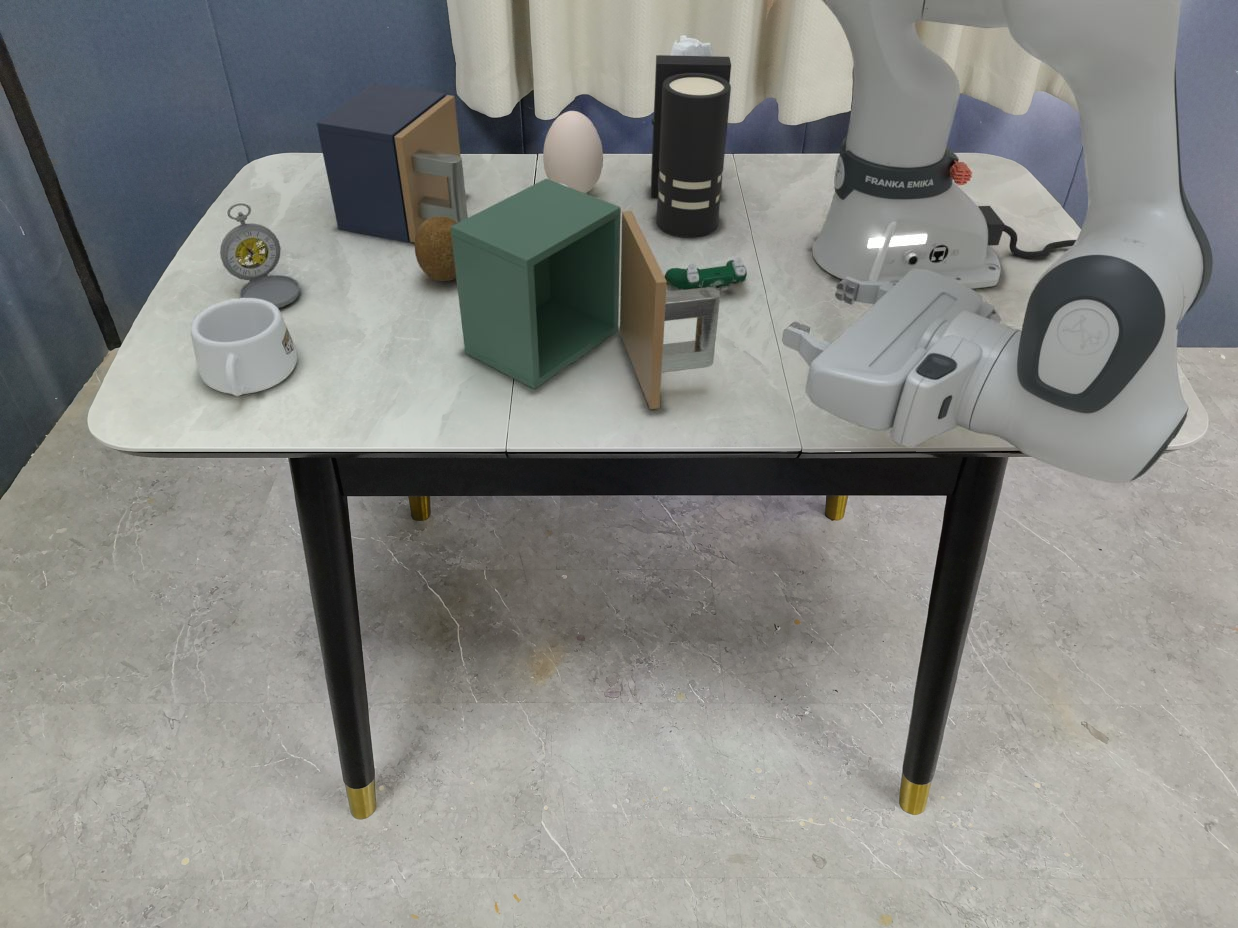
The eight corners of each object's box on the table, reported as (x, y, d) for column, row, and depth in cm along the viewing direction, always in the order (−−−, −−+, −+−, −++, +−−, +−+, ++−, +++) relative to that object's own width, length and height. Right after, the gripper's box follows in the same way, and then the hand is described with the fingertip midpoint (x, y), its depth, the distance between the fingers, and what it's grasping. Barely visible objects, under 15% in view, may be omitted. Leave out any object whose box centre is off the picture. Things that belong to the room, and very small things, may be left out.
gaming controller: (667, 303, 110) (681, 291, 104) (661, 272, 110) (675, 258, 104) (739, 293, 112) (757, 280, 106) (734, 262, 112) (751, 248, 106)
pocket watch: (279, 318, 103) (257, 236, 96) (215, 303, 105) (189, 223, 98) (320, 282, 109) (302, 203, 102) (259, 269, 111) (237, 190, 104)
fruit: (469, 293, 108) (462, 230, 102) (415, 293, 107) (405, 230, 102) (474, 266, 112) (468, 204, 107) (423, 265, 112) (414, 204, 107)
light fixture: (650, 237, 118) (656, 96, 106) (648, 188, 128) (654, 55, 116) (726, 238, 118) (741, 98, 106) (719, 190, 128) (731, 56, 116)
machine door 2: (680, 325, 103) (689, 205, 93) (717, 401, 93) (731, 274, 83) (619, 332, 102) (621, 211, 92) (649, 409, 92) (656, 282, 82)
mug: (210, 345, 99) (194, 297, 95) (303, 339, 100) (291, 291, 96) (188, 415, 90) (169, 365, 86) (290, 408, 91) (276, 358, 87)
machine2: (618, 331, 102) (620, 207, 92) (534, 389, 94) (526, 260, 84) (550, 299, 107) (546, 178, 97) (464, 353, 99) (450, 226, 89)
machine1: (456, 195, 126) (445, 93, 117) (408, 242, 116) (391, 135, 107) (391, 184, 128) (375, 83, 119) (338, 229, 118) (316, 122, 109)
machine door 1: (505, 203, 124) (498, 102, 115) (460, 251, 114) (448, 145, 105) (458, 195, 126) (447, 94, 117) (409, 241, 116) (394, 136, 107)
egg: (597, 211, 123) (597, 126, 116) (539, 206, 124) (535, 121, 116) (607, 185, 129) (608, 103, 121) (551, 180, 130) (548, 98, 122)
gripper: (1019, 282, 80) (874, 232, 86) (917, 396, 68) (757, 328, 75) (998, 342, 85) (861, 290, 91) (898, 459, 73) (749, 390, 79)
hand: (813, 308), depth 83 cm, fingers open, 8 cm apart
